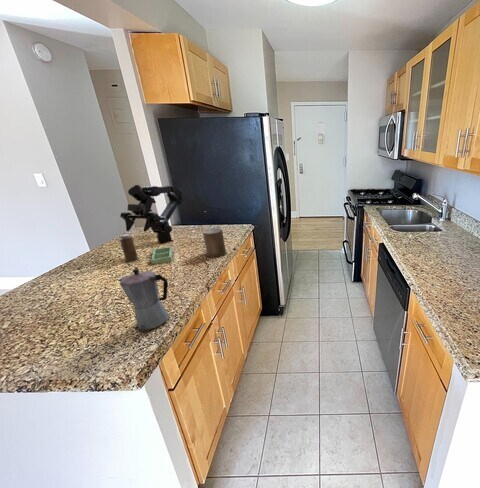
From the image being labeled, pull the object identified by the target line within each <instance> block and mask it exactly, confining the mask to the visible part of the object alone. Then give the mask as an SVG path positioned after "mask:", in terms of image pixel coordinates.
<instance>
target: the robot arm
mask: <svg viewBox="0 0 480 488" xmlns="http://www.w3.org/2000/svg"><path fill="white" fill-rule="evenodd" d="M127 193H128V195H129V196H131V197H132V198H133V199H134V200H135V201H137V202H138V204H137V203H135V204H133V203H132V204H131V203H128V204H127V212H126V211H125V212H120V215H119V217H120V218H121V219H123V220H124V222H125V230H126V232H130V230H131V229H132V227H133V226H134V224H135V221H136V219H137V220H138V219H139V220H141V219H142V220H144V219H145V224H144V227H143V232H144V233H146V232H147V231H148V230H150V229H151V230H152V232H153V233H154V234H156V239H157V242H158V243H160V244H161V245H163V244H167V243H171V242H173V241H174V240H173V239H172V236H171V233H172V232H173V227H172V226H171V225H170V223H169V220H170V219H171V217H172V216H173V214H174V212H175V211H176V210H177V207H178V206H180V205H182V204H183V203H184V202H185V199H186V196H185V194H184V193H183V192H182V191H181V190H179V189H178V188H177V187H176V186H174V185H165V186H156V185H144V186H142V187H141V185H139V184H134V186H131V187H130V188H129V189H128V191H127ZM161 194H166V196H167V198H168V201H169V202H168V203H167V205H166V207H165V208H164V210H163V211H162V213H161V214H160V215H159V214H158V213H157V212H153V210H152V206H153V204H156V203H157V201H156V200H155V198H154V197H159V196H161ZM129 211H130V212H129Z"/></svg>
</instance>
